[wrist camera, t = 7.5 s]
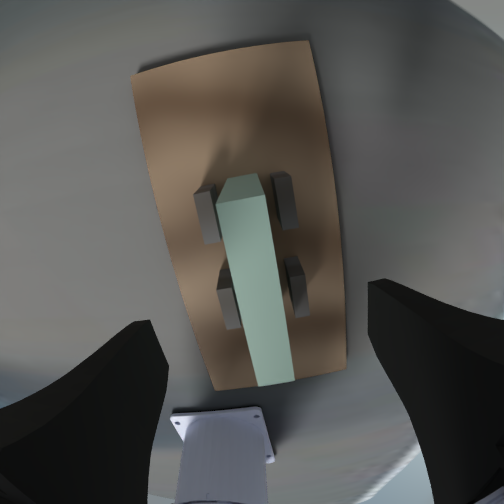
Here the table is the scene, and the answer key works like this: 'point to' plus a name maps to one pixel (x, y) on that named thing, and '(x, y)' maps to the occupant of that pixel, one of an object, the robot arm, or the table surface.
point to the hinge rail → (274, 186)
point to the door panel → (255, 277)
